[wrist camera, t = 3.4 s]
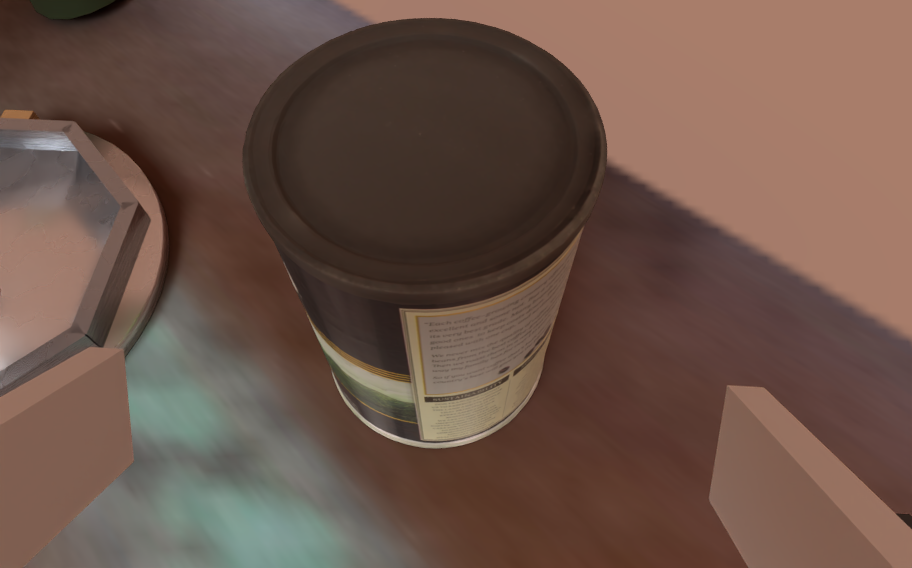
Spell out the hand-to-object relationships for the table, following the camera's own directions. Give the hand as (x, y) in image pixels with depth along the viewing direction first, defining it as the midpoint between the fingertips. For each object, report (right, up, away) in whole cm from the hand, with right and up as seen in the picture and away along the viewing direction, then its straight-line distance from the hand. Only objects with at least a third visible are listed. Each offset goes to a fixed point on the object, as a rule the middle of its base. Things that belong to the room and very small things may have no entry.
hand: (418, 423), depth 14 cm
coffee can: (0, 0, +16) cm, 16 cm away
